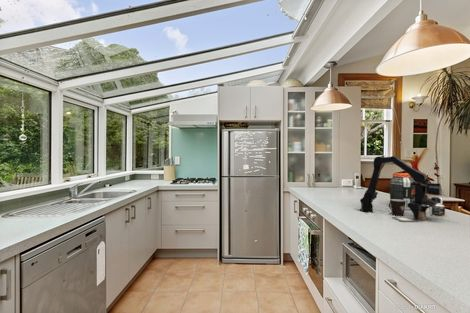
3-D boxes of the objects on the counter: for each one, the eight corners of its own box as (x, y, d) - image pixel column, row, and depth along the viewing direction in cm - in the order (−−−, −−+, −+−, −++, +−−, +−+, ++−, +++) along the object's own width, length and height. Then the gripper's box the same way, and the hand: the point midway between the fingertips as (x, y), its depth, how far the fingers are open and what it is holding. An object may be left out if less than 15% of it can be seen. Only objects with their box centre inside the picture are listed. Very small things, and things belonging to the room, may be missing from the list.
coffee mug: (401, 213, 181) (401, 199, 181) (408, 216, 173) (408, 201, 173) (383, 213, 183) (383, 198, 182) (389, 216, 174) (389, 201, 174)
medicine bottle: (431, 216, 175) (432, 197, 175) (428, 213, 182) (428, 196, 182) (445, 217, 172) (445, 198, 172) (441, 214, 179) (441, 196, 179)
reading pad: (401, 222, 160) (401, 220, 160) (391, 217, 170) (391, 216, 170) (418, 222, 160) (418, 221, 160) (407, 218, 170) (407, 216, 170)
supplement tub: (415, 211, 189) (415, 174, 189) (389, 208, 198) (389, 173, 197) (413, 207, 203) (414, 173, 203) (390, 205, 211) (390, 172, 211)
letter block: (422, 221, 162) (422, 213, 162) (413, 219, 166) (413, 211, 166) (426, 220, 165) (426, 212, 165) (417, 218, 169) (417, 210, 169)
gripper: (428, 196, 153) (427, 223, 154) (441, 193, 164) (441, 218, 164) (407, 193, 163) (407, 219, 163) (421, 191, 173) (421, 215, 173)
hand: (419, 218), depth 165 cm, fingers open, 8 cm apart
